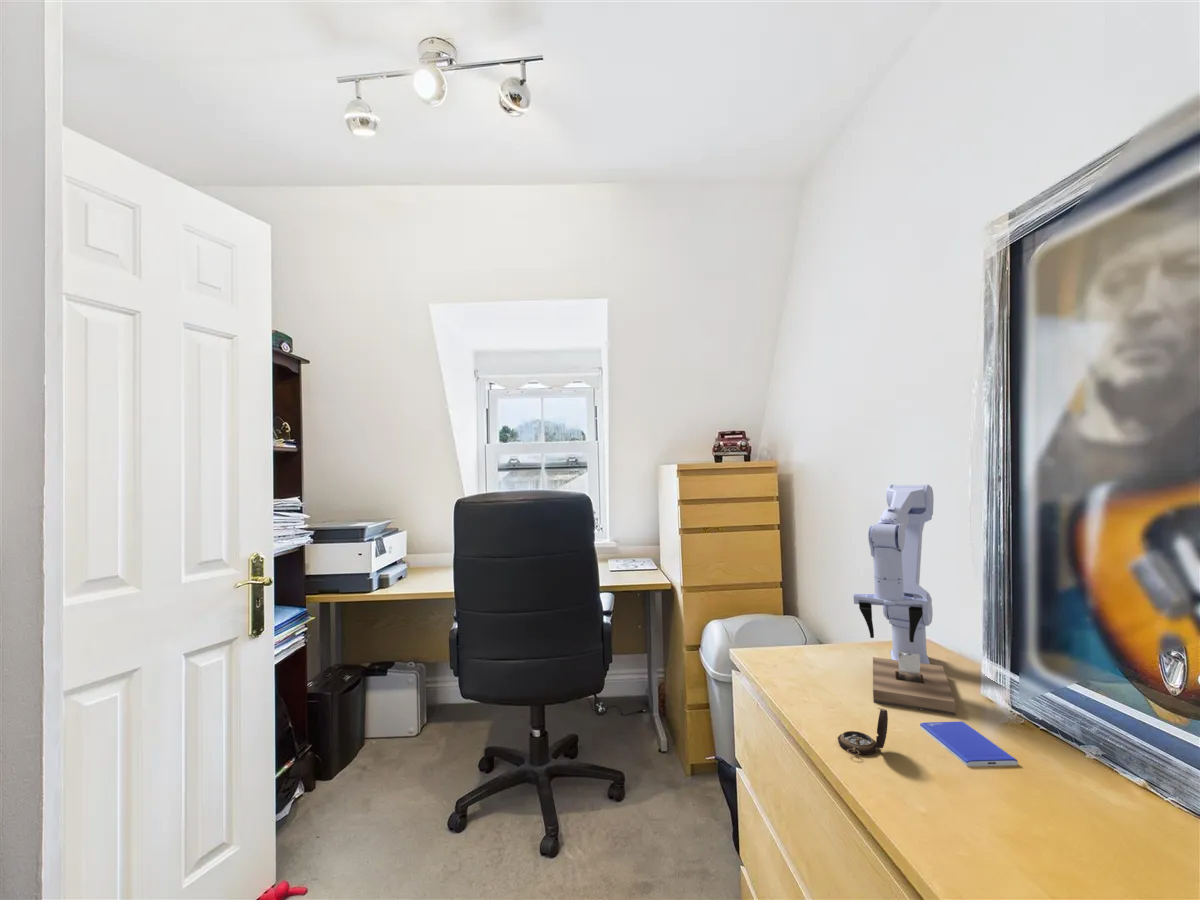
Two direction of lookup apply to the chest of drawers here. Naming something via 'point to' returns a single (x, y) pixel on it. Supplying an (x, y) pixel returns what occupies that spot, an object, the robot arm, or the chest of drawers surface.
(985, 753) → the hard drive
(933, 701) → the socket board
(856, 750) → the compass
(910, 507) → the robot arm
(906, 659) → the peg
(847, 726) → the chest of drawers surface
